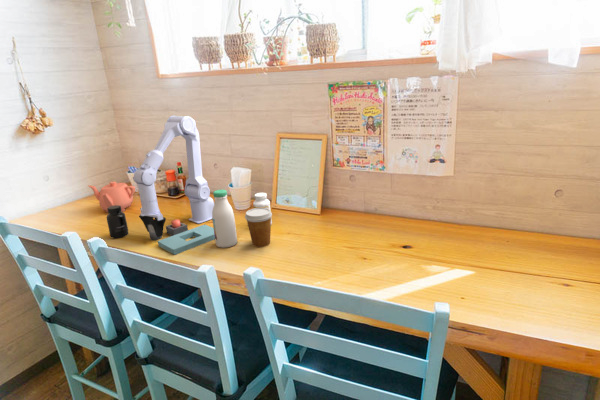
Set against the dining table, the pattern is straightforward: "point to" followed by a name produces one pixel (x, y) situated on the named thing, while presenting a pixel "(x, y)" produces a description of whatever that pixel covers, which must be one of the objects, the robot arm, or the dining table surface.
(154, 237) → the cylinder
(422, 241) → the dining table surface
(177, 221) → the button
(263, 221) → the disposable coffee cup
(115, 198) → the teapot
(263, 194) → the supplement bottle
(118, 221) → the supplement bottle
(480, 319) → the dining table surface
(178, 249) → the plate
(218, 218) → the milk bottle
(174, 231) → the button housing
